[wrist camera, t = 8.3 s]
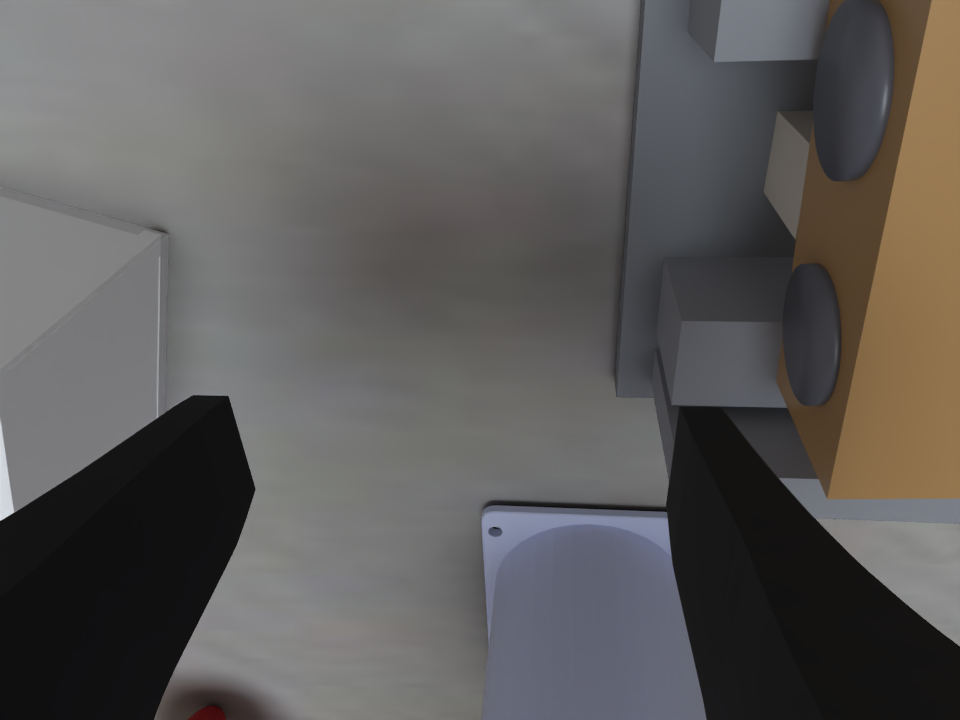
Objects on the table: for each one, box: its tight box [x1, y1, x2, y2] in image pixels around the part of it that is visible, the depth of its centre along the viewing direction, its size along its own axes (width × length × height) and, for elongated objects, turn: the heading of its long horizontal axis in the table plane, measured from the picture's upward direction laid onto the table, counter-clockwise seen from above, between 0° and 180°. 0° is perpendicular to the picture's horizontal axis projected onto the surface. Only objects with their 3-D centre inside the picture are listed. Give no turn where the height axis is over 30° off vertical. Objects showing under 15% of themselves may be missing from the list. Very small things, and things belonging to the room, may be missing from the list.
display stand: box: [615, 0, 960, 524], centre depth 16 cm, size 15×9×6 cm, turn 2°
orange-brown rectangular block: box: [776, 0, 960, 499], centre depth 13 cm, size 10×3×4 cm, turn 6°
